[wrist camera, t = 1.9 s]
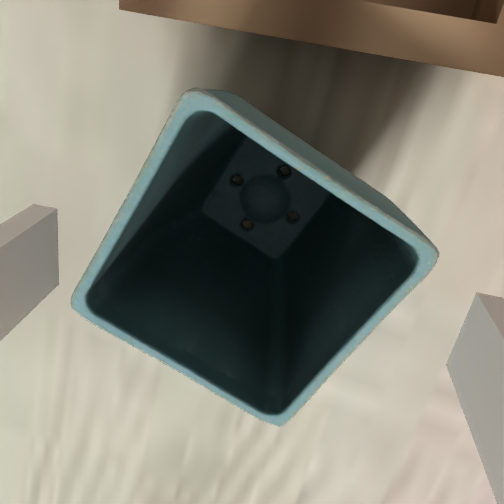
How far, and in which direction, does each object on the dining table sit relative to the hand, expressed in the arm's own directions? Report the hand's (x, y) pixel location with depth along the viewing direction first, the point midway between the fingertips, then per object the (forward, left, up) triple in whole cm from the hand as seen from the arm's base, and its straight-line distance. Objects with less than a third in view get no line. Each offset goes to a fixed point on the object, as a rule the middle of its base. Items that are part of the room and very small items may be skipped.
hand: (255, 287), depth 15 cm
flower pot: (0, 0, -9) cm, 9 cm away
